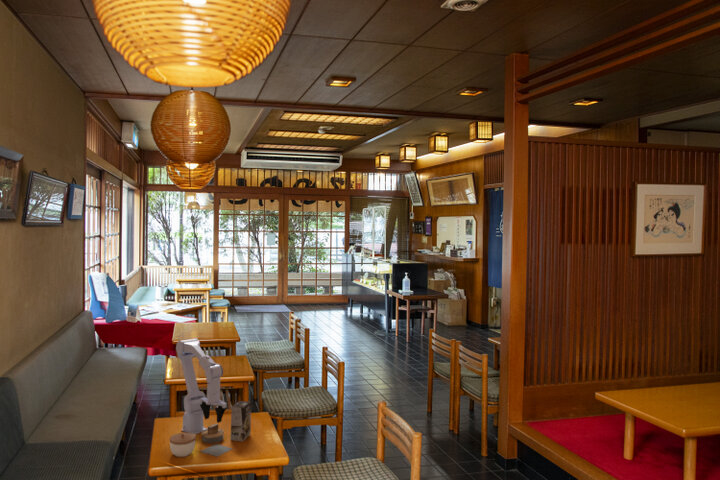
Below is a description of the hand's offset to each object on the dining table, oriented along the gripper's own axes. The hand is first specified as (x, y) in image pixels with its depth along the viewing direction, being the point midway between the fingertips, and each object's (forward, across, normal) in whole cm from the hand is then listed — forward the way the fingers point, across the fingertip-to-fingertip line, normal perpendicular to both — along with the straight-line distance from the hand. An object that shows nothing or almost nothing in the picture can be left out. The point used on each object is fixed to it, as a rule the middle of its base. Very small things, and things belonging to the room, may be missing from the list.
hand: (213, 420), depth 255 cm
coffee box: (+9, +9, +9) cm, 16 cm away
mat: (+9, +10, -8) cm, 16 cm away
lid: (+6, 0, 0) cm, 6 cm away
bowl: (+9, 0, 0) cm, 9 cm away
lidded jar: (+10, 0, -19) cm, 21 cm away
